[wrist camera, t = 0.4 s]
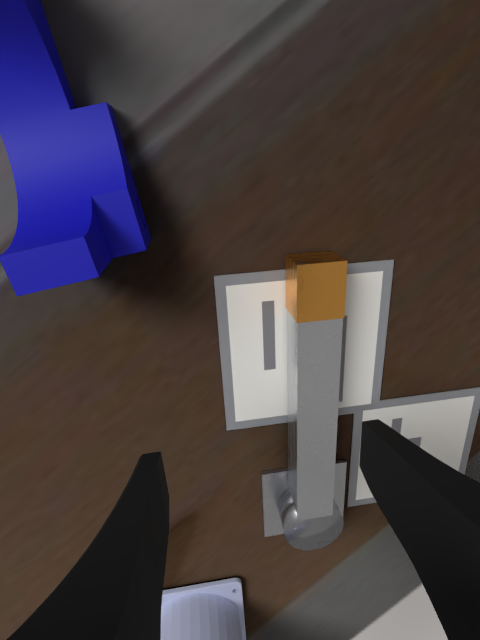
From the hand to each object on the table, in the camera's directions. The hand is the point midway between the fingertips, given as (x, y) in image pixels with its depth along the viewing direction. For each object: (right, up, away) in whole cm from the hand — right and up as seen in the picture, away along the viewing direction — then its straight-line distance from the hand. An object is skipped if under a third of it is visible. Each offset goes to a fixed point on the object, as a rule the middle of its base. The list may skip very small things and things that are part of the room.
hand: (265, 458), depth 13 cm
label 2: (+11, -4, +14) cm, 18 cm away
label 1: (+3, +3, +10) cm, 10 cm away
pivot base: (+4, -8, +14) cm, 17 cm away
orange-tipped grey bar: (+3, -1, +11) cm, 11 cm away
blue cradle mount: (-9, +14, +4) cm, 17 cm away
